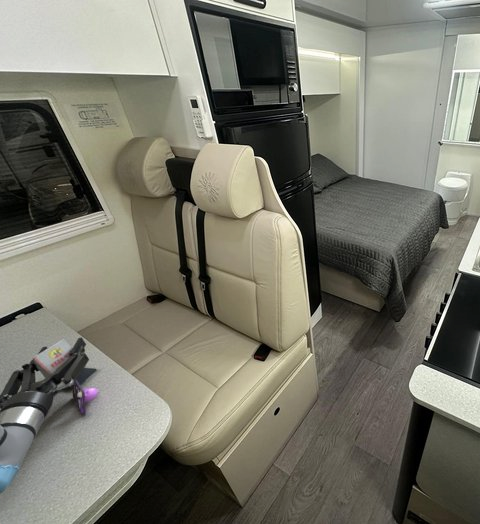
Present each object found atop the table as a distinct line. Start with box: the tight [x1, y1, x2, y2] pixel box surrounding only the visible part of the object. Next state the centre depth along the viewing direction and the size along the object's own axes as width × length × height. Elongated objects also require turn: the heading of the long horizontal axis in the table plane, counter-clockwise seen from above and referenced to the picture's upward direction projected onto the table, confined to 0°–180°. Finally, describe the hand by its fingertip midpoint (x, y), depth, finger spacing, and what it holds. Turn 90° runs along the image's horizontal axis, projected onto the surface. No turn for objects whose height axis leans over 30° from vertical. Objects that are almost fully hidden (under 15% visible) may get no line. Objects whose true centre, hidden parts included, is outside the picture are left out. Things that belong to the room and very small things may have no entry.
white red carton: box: [32, 339, 87, 379], centre depth 75 cm, size 4×7×10 cm, turn 163°
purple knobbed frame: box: [71, 379, 100, 417], centre depth 72 cm, size 7×5×9 cm
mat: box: [65, 367, 98, 390], centre depth 79 cm, size 9×6×1 cm
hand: (64, 345), depth 79 cm, fingers closed on white red carton, 7 cm apart
